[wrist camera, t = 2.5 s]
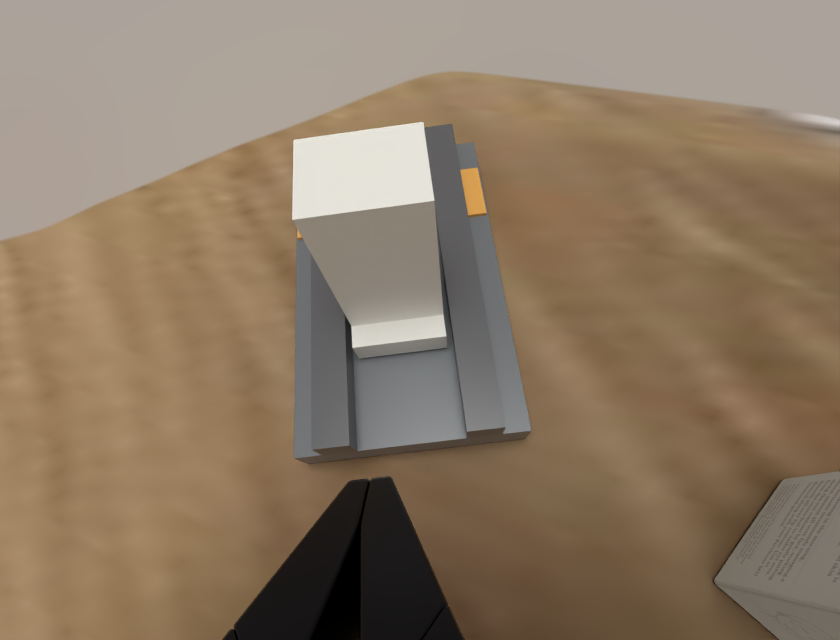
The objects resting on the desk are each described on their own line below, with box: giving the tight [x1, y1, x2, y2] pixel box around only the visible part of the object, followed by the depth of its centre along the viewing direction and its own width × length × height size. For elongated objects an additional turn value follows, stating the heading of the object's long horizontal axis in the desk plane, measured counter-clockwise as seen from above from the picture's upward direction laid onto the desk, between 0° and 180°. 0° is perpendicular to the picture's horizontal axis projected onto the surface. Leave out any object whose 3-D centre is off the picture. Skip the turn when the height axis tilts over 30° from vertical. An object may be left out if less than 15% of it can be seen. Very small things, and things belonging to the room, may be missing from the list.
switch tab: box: [292, 122, 447, 359], centre depth 17 cm, size 5×4×9 cm
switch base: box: [294, 124, 531, 464], centre depth 22 cm, size 16×10×4 cm, turn 6°
